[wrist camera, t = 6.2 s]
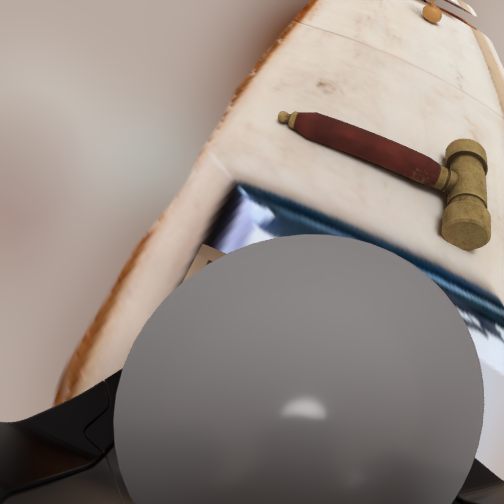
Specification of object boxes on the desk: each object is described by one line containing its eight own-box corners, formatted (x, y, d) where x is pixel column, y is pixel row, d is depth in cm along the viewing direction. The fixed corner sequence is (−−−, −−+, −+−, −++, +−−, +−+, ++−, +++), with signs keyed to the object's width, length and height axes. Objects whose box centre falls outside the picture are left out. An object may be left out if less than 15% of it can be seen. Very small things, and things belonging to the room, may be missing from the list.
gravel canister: (314, 438, 14) (481, 520, 3) (204, 450, 13) (149, 595, 2) (302, 335, 16) (449, 228, 5) (194, 344, 15) (110, 246, 4)
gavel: (257, 133, 23) (297, 68, 27) (256, 170, 27) (292, 102, 31) (500, 234, 20) (493, 151, 24) (471, 256, 24) (472, 176, 28)
